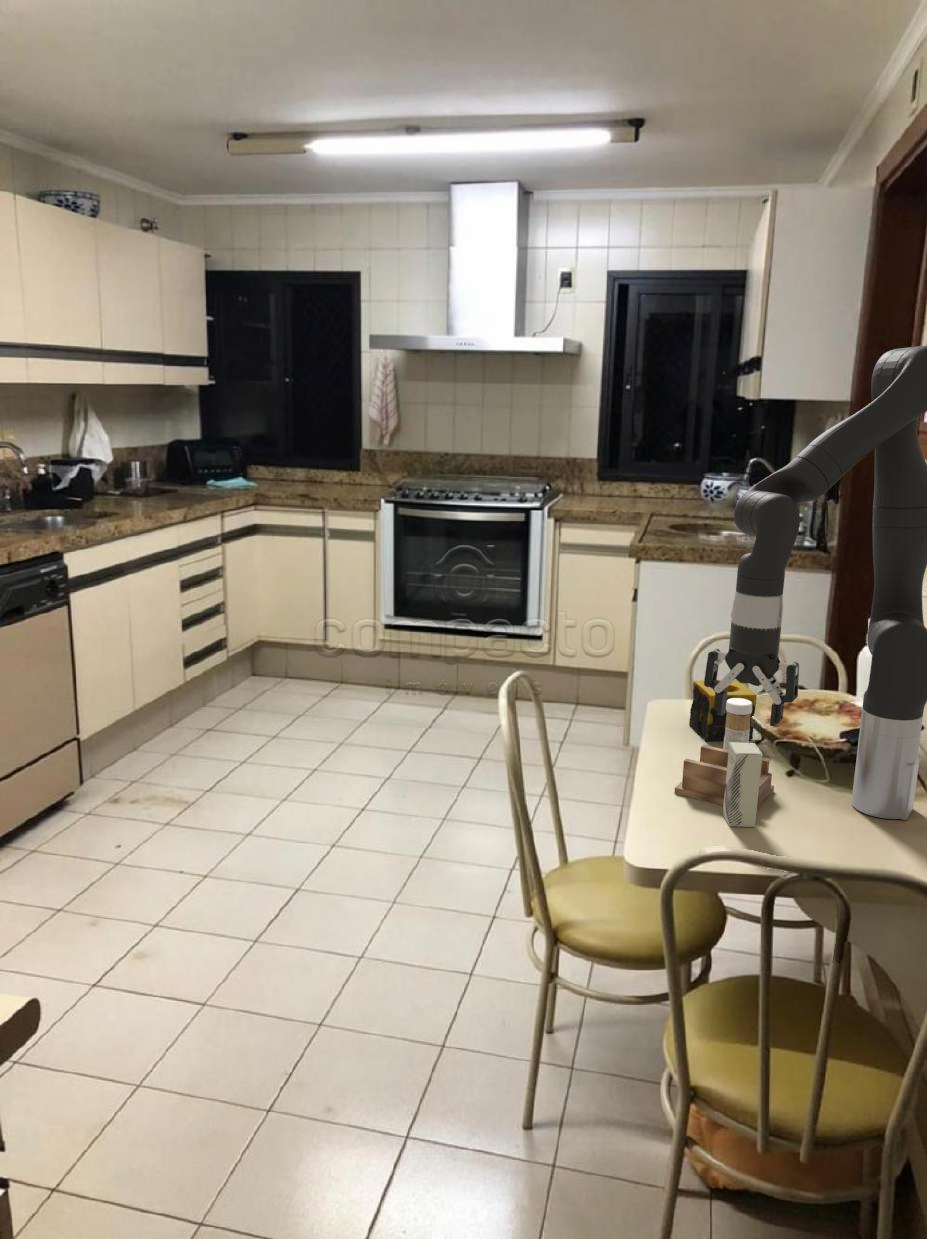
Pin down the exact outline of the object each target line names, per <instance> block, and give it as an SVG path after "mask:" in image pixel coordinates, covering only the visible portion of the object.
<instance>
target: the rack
mask: <svg viewBox="0 0 927 1239" xmlns="http://www.w3.org/2000/svg"><path fill="white" fill-rule="evenodd" d="M728 753H729V750H725V749H723V748H720V747H714V746H710V745H706V744H703V745H701V746H700V753H699V754H700V756H699V761H698V760H694V759H690V758H685V759H684V760H683V766H682V767H683V768H682V769H683V770H682V781H681V782H680V783H678V784H677V785H676V786H675V787H674V792H673V793H674V794H675V795H676V794H677V795H681V796H685V797H688V798H689V797H690V798H693V799H697V800H701V801H704V802H708V803H712V804H717V805H721V806H723V805H724V795H725V784H726V774H727V764H728ZM769 768H770V758H765V757H762V766H761V775H760V785H759V794H758V803H757V810H758V809H759V808H760V807H761V806H762V805H763V804H764V802H766V800H767V799H768V798H769V797H770V796H771V795H772V794H773V792H774V791H775V785H772V779H773V778H772V776H773V774H772V773H771V772H769Z"/></svg>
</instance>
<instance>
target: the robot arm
mask: <svg viewBox="0 0 927 1239" xmlns="http://www.w3.org/2000/svg"><path fill="white" fill-rule="evenodd" d="M870 385H871V390H870V391H871V402H870V403H868V404H867V405H866V406H865V407H863V408H862V409H860V410H859V411H857V412H855V413H854V414H853V415H850V416H849V417H847V418H845V419H844V420H841V421H840V422H838V423H837V424H835V425H834V426H832V427H830V428H829V429H827V430H825V431H824V432H823V433H820V435H818V436H817V437H816V438H814V439H813V440H812V441H811V442H810V443H809V444H808V445H807V446H806V447H804V448H803V449H802V451H800V452H799V453H798V454H797V455H796V456H795V457H794V458H793V459H791V461H790V462H789V463H788V464H786V465H785V466H783V467H782V468H779V469H778V470H777V471H775V472H773V473H771V474H769V476H768V475H767V477H765V478H764V479H762V480H761V481H759V482H757V483H755V484H754V485H752V486H751V487H750V488H749V489H748V490H747V491H746V492H744V493H743V494H742V496H740V498H739V499H738V500H737V503H736V505H735V508H734V511H733V520H734V523H735V526H736V527H737V528H738V529H739V531H741V532H742V533H744V534H746V535H749V536H752V537H755V541H754V544H753V547H752V551H751V552H748V553H745V554H744V555H742V556H741V557H740V558H739V561H738V564H737V572H736V573H737V574H736V584H735V593H734V597H733V603H732V608H731V609H732V610H731V613H730V618H731V622H730V632H729V633H730V634H729V642H728V643H729V645H728V651H727V652H724V651H721V650H720V648H715V649H713V650H711V651H709V652H708V653H707V658H706V659H707V660H706V666H705V671H704V679H703V680H704V685H705V686H706V687H710V688H712V689H713V690H714V691H715V703H714V709H715V711H717V715H721V716H722V715H723V714H725V712H726V703H727V692H728V691H726V688H727V687H728V686H729V685H730V684H731V683H732V682H733V681H734V680H738V681H739V683H742V684H749V685H752V686H756V687H759V686H761V687H762V688H763V689H764V691H765V692H766V693H767V694H768V695H769V697H770V699H771V700H772V701H773V702H772V703H771V712H770V720H769V726H770V727H776V726H777V725H778V724H780V723H781V722H782V721H783V719H784V710H785V704H787V703H789V704H791V703H793V702H794V701H795V700H796V699H797V698H798V697H799V677H800V664H799V663H798V662H797V661H792V662H791V663H790V662H782V661H781V660H780V658H779V654H780V645H781V644H780V643H781V635H782V634H781V633H782V626H783V624H782V622H783V614H784V602H783V601H784V596H783V595H784V587H785V585H784V584H785V578H786V567H787V564H788V562H789V561H790V558H791V555H792V552H793V549H794V547H795V543H796V542H797V541H796V540H797V539H798V535H799V530H800V527H801V515H800V514H801V513H800V509H799V507H798V505H799V504H801V503H807V502H808V503H809V502H814V501H816V500H818V499H820V498H821V497H823V495H824V494H826V492H828V491H829V490H830V489H831V488H832V487H833V486H834V485H835V484H837V483H838V481H840V479H842V478H843V477H844V476H845V475H846V474H847V473H848V472H850V470H851V469H852V468H853V467H854V466H856V465H857V464H858V463H859V462H861V460H863V459H864V458H866V456H868V455H869V454H870V453H871V452H872V451H874V486H873V487H874V488H873V502H872V527H871V528H872V531H871V532H872V559H873V560H872V562H873V576H874V577H873V578H874V584H873V596H872V597H873V598H872V603H871V605H872V606H871V611H870V618H869V622H868V629H867V635H866V636H867V638H866V641H867V647H868V650H869V652H870V655H871V662H870V670H869V676H868V677H869V678H868V685H867V689H866V690H865V691H864V694H863V698H862V700H863V701H862V707H861V717H860V725H859V734H858V742H857V752H856V758H855V759H856V762H855V768H854V777H853V787H852V793H851V795H852V796H851V804H852V806H853V808H854V809H856V810H857V811H859V812H860V813H864V814H866V815H868V816H870V817H871V816H872V817H876V818H880V819H881V818H882V819H888V820H889V819H891V820H892V819H894V820H897V819H899V820H903V821H907V820H908V818H909V817H910V815H911V813H912V811H913V809H914V805H915V804H914V803H915V797H916V789H917V782H918V781H917V780H918V773H919V766H920V759H921V758H920V755H919V749H920V748H919V747H920V741H921V733H922V727H923V726H922V725H923V720H924V719H923V718H924V711H925V707H926V704H927V627H926V626H925V623H924V622H925V621H924V612H923V584H924V577H925V573H926V571H927V462H926V459H925V457H924V454H923V451H922V449H921V446H920V442H919V436H918V435H919V434H918V418H919V417H921V416H922V415H924V414H925V413H927V345H917V346H908V347H902V348H901V347H900V348H894V349H892V350H889V351H886V352H885V353H883V354H882V355H881V356H880V357H879V359H877V362H876V364H875V366H874V368H873V371H872V376H871V384H870ZM723 661H725V663H726V665H727V667H728V668H729V672H728V673H727V674H726V675H725V676H724V677H723V678H722V679H721V681H718V680H719V679H718V672H719V665H720V664H721V665H722V664H723ZM779 670H780V671H781V672H782V676H783V677H784V678H785V679H786V680H785V693H784V691H783V689H782V688H781V686H780V683H779V680H778V678H777V677H776V675H775V674H776V673H777V672H778V671H779Z"/></svg>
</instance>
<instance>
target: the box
mask: <svg viewBox="0 0 927 1239" xmlns="http://www.w3.org/2000/svg"><path fill="white" fill-rule="evenodd" d="M762 758H763V752H762V751H761V749H760V748H759V746H757V744H756V743H755V742H749V743H737V742H730V743H729V753H728V764H727V774H726V784H725V795H724V805H722V806H723V807H722V814H723V817H724V819H725V821H726V822H727V824H728V826H729V827H743V828H745V827H746V828H755V827H756V820H757V811H758V809H757V803H758V794H759V785H760V775H761V766H762Z"/></svg>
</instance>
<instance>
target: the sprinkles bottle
mask: <svg viewBox="0 0 927 1239" xmlns="http://www.w3.org/2000/svg"><path fill="white" fill-rule="evenodd" d="M726 710H727V711H726V712H727V715H726V727H725V737H724V741H723V748H722V749H725V750H729V743H730V742H737V743H750V740H749V733H750V715H751V713H752V702H751V701H749V700H747V699H742V698H731V699H728V700H727V703H726Z"/></svg>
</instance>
